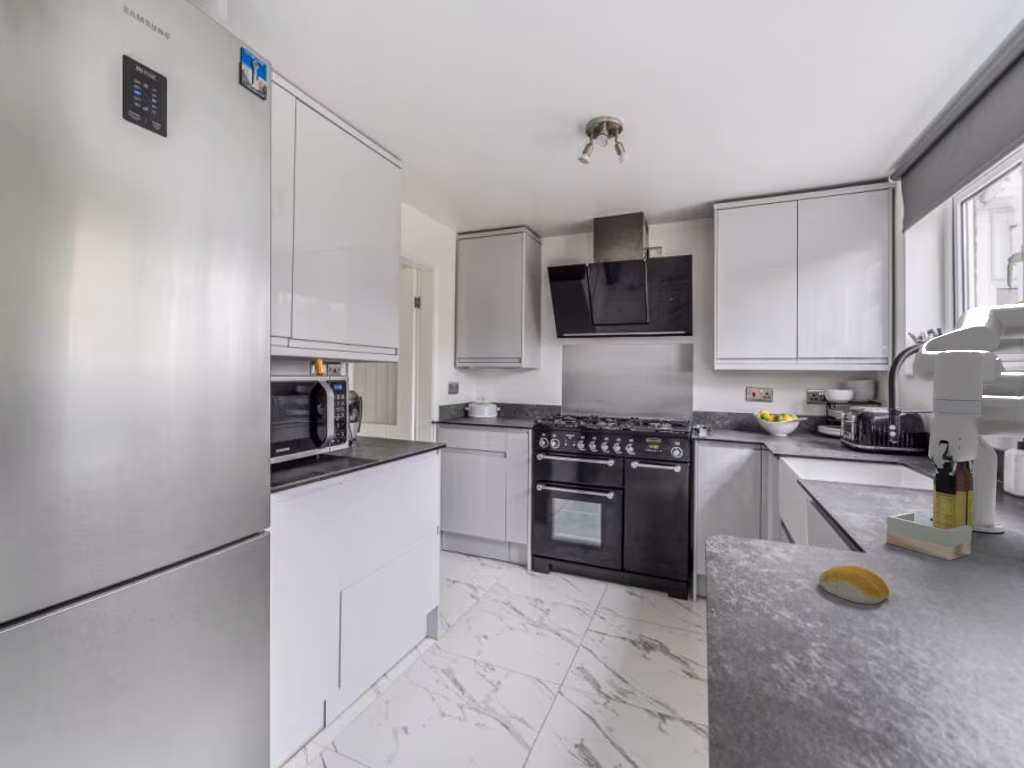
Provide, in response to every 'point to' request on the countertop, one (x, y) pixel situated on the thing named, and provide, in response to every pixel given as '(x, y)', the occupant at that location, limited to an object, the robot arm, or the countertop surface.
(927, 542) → the tray
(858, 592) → the bread roll
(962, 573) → the countertop surface
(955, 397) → the robot arm
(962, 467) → the sauce bottle
